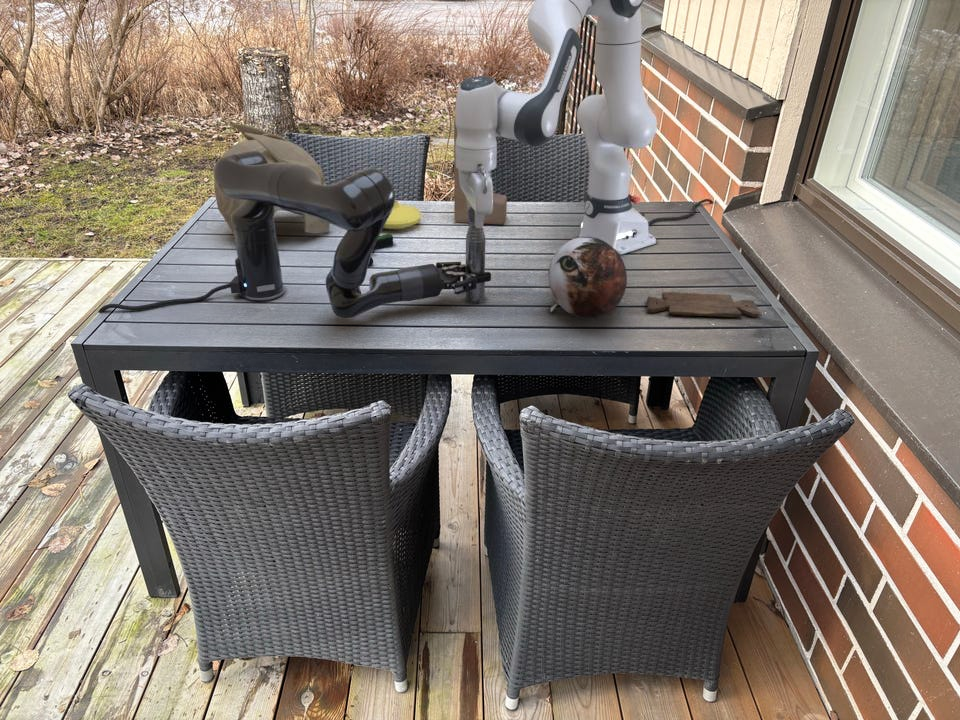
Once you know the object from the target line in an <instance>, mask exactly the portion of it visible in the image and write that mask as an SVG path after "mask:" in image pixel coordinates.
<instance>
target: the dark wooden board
mask: <svg viewBox="0 0 960 720" xmlns="http://www.w3.org/2000/svg"><path fill="white" fill-rule="evenodd" d="M661 297H662V298H659V297H656V296H648V297H647V301H646V302H647V303H646V309H647V313H650V314H652V313H658V312H663V311H667V310H668V315H674V316H699V317H718V318H719V317H721V318H741V317H742V315H745V316H749V317H751V318H753V317H758V318H759V317H761V316H762V315H761V314H762V313H761V312H760V310H759V308H758V306H757V304H756V303H755V301H754V300H751V299H741V300H738V301H734V300H733V297H732V295H731V294H718V293H696V292H692V293H691V292H671V291H669V292H667V291H666V292H664V291H663V292H661Z"/></svg>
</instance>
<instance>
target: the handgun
mask: <svg viewBox="0 0 960 720" xmlns="http://www.w3.org/2000/svg"><path fill="white" fill-rule="evenodd" d="M392 246H394V236H393V234H392V233H387V234H382V235H381V234H380V235H379V237H378V239H377V242H376V244H375V246H374V249H373V251H372V254H374V253H375V250H376V249H380V248H386V247H392ZM373 264H374V259H373V257H372V256H371V257H370V261H369V265H368V267H371V266H373Z"/></svg>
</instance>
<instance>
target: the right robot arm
mask: <svg viewBox="0 0 960 720" xmlns="http://www.w3.org/2000/svg"><path fill="white" fill-rule="evenodd" d="M643 3H644V0H534V1H533V3H532V4H531V7H530V9H529V11H528V12H529V13H528V16H527V21H526V23H527V30H528V33H529V36H530V38H531V39H532V41H533V42H534V43H535V45H536V46H537V47H538V48H539V49H540V50H541V51H542V52H544V53H545V54H547V55H548V56H549V57H550V61H549V64H548V66H547V70H546V73H545V75H544V78H543V80H542V84H541V86H540V88H539V90H537V91H536V92H533V93H525V92H518V91H516V90H510V89H507V88H504V87H502V86H501V85H499V84H497V83H496V81H495V79H494V78H493V77H491V76H486V75H478V76H471V77H467V78H465V79H463V80H462V81H460V82H459V85H458V88H457V91H456V96H455V97H456V98H455V110H454V112H455V113H454V120H455V124H456V128H457V139H456V143H455V166H456V168H457V169H458V173H459V183H460V187H461V189H462V191H463V192H464V194H465V196H466V200H467V206H468V210H469V209H472V208H473V209H474V211H475V218H474V225H475V227H476V228H482V227H483V228H484V224H483V220H484V217H485V215H486V214H491V213H492V211H493V193H494V187H493V186H494V185H493V179H492V177H491V171H493V170H495V169H497V160H498V159H497V158H498V156H497V155H498V141H497V138H498V137H502V138H504V139H508V140H511V141H517V142H520V143H522V144H525V145H528V146H530V147H533V148H538V147H541V146H543V145H544V144H546V143H547V142H548V141H550V140H551V139H552V138H553V136H554V135H555V134H556V133H557V130H558V126H559V123H560V116H561V111H562V108H563V104H564V101H565V98H566V97H567V96H566V95H567V93H568V90H569V87H570V84H571V81H572V79H573V75H574V72H575V71H576V68H577V67H576V66H577V63H578V60H579V57H580V54H581V49H582V47H581V46H582V41H581V37H580V34H579V33H578V31H579V28H580V26H581V23H582V22H583V20H584V18H585V16H594V17H595V16H596V17H597V20H596V27H595V48H594V49H595V51H594V54H595V55H594V75H595V77H596V80H597V81H598V82H599V84H600V86H601V88H602V91H603V93H602V94H591V95H588V96H586V97H585V98H584V99H583V100H582V101H581V102H580V104H579V106H578V108H577V111H576V121H577V124H578V126H579V128H580V130H581V131H582V133H583V137H584V141H585V145H586V149H587V156H588V167H589V168H588V182H587V191H586V192H585V196H584V216H583V220H582V223H581V225H580V231H579V234H578V237H594V238H598V239H601V240H604V241H605V242H607V243H608V244H610V245H611V246H612V247H613V248H614V249H615V250H616V251H617V252H618V253H619V255H625V254H628V253H631V252H634V251H637V250H640V249H643V248H646V247H650V246H652V245H655V244H656V243H657V239H656V237H655V236H654V235H653V234H651V233H650V232H649V230H650V229H649V228H650V226H651V225H652V224H653V223H655V222H658V221H674V220H681V219H685V218H688V217H691V216H693V215H694V214H695V213H696V208H697V206H699V205H701V204H704V203H706V202H708V203H710V204H714V201H713V200H712V199H710V198H705V199H702V200H700V201H698V202H696V203H695V204H693V206H692V211H691V212H689V213H688V214H687V213H686V214H685V215H679V216H680V217H679V216H672V217H671V216H670V217H669V216H668V217H667V216H666V217H656V218H653V219H650V221H649V222H648V220H647V218H646V217H645V213H643V212H639V211H637V210H636V208H634V207H633V203H634V205H639V203H640V202H641V198H640V197H639V196H637V195H636V194H635V195H631V194H630V192H629V191H630V183H631V175H632V165H631V163H630V160H629V159H628V157H627V155H626V152H625V149H632V150H633V149H634V150H636V149H637V150H641V149H644V148H646V147H647V146H649V144H651V142H652V141H653V140H654V138H655V136H656V134H657V130H658V119H657V116H656V115H655V113H654V112H653V110H652V108H651V107H650V105H649V102H648V100H647V97H646V93H645V90H644V85H643V80H642V72H641V68H642V67H641V65H642V64H641V63H642V60H641V59H642V40H643V39H642V38H643V37H642V36H643V35H642V34H643V31H642V30H643V29H642V28H643V27H642V26H643V25H642V10H641V6H642V5H643ZM697 203H698V204H697Z"/></svg>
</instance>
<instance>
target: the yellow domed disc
mask: <svg viewBox="0 0 960 720" xmlns="http://www.w3.org/2000/svg"><path fill="white" fill-rule="evenodd" d="M422 217H423V215H422V212H421V211H420V210H419V209H418V208H417V207H414V206H411V205H407V204H399V201H398V200H396V199H395V204H394V207H393V210H392V212H391V214H390V216H389V217H388V219H387V221H386V223H385V225H384V227H383V229H387V230H402V229H407V228H410V227H412V226H413V225H416V224H418V223H419V222H420V221H421V219H422Z"/></svg>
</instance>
